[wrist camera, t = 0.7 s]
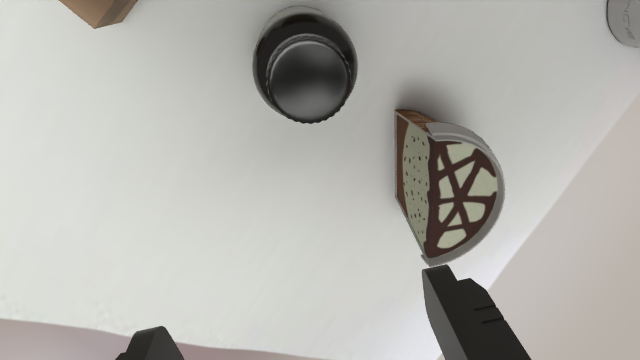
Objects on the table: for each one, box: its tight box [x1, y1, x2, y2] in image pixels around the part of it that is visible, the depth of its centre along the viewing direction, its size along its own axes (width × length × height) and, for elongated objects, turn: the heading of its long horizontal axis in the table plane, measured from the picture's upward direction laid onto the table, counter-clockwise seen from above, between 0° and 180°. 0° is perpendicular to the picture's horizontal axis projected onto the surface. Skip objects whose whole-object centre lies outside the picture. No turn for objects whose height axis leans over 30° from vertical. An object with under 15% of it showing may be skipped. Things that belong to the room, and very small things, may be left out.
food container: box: [395, 110, 505, 267], centre depth 32 cm, size 12×6×10 cm, turn 6°
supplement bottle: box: [253, 6, 358, 124], centre depth 26 cm, size 7×7×12 cm
